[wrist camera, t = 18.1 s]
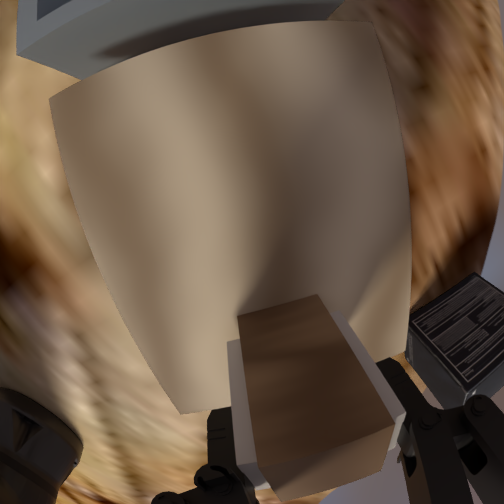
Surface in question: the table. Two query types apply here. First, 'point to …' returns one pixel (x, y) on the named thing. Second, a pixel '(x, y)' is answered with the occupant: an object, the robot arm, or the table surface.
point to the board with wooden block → (254, 229)
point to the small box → (459, 342)
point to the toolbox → (139, 26)
